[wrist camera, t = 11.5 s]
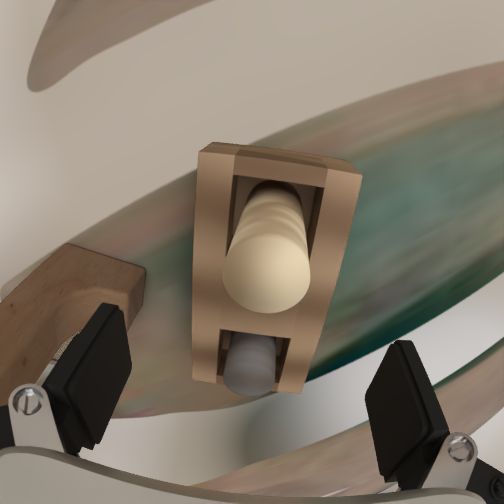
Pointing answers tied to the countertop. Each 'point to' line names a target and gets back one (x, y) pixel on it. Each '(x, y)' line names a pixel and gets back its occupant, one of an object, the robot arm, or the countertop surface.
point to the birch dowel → (269, 251)
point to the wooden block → (60, 309)
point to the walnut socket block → (216, 249)
